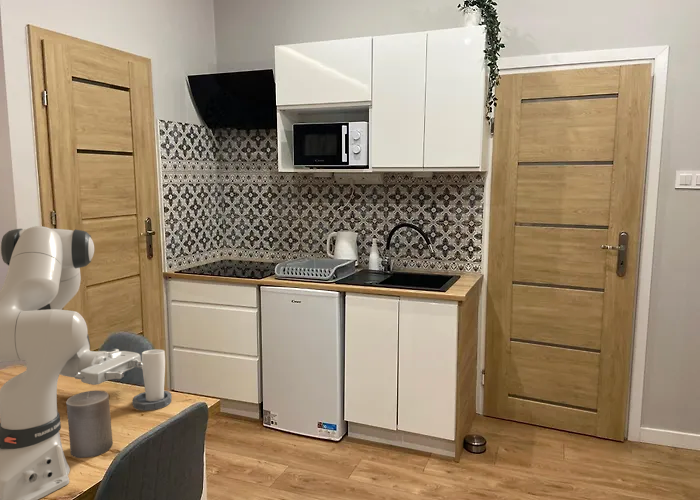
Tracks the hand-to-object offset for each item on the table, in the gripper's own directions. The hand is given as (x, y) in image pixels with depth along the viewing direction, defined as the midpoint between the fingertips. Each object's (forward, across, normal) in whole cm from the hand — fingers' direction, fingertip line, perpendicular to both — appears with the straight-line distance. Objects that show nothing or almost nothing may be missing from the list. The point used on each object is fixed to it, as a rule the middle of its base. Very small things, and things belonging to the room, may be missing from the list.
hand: (132, 370), depth 165 cm
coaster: (+7, 0, +10) cm, 12 cm away
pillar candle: (+11, -29, +10) cm, 33 cm away
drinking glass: (+7, 0, +9) cm, 12 cm away
